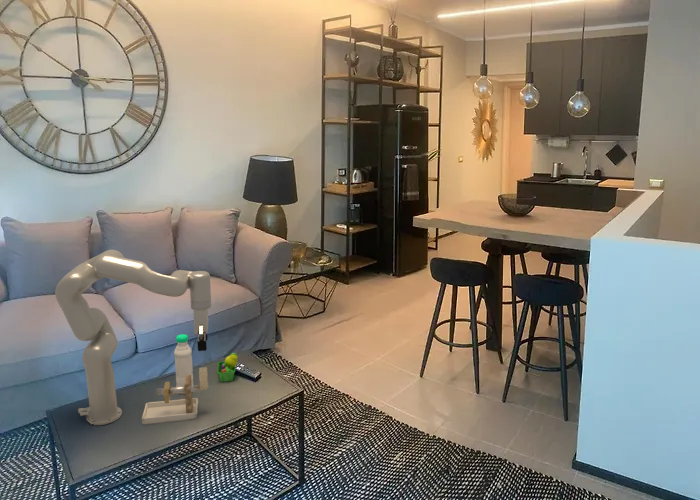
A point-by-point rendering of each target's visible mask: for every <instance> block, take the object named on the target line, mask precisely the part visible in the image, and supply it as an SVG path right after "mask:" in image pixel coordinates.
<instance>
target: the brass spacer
mask: <svg viewBox="0 0 700 500" xmlns="http://www.w3.org/2000/svg"><path fill="white" fill-rule="evenodd" d="M170 387H171V384H170V381H165V383H164V385H163V388H164V394H163V401H164V402H165V403H169V401H171V394H169V388H170Z"/></svg>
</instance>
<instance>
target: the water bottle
mask: <svg viewBox="0 0 700 500" xmlns="http://www.w3.org/2000/svg"><path fill="white" fill-rule="evenodd" d="M175 341H176V343H177V345H176V346H175V349H174V352H173V353H174V367H175V382H176V386H175V387H182V386H184V384H185V378H186V375H191V382H192V386H193V385H194V374H193V372H194V371H193V357H192V353H193V351H192V348H191V346H190V345H189V344H188V342H189V336H188V334H186V333H185V334H184V333H183V334H182V333H181V334H177V335H176V338H175ZM182 394H184V395H185V393H182Z"/></svg>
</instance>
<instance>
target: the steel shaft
mask: <svg viewBox="0 0 700 500" xmlns="http://www.w3.org/2000/svg"><path fill="white" fill-rule="evenodd" d="M208 374H209V373H208V367H207V366H204V367H199V368H198V376H199V384H195V385H193V386H191V392H192V393H196V392H202V390H209V377H208V376H209V375H208ZM183 393H184V394H185V387H184V386H182V387H176V386H172V387H171V386H170V388H169V394H170V395H174V394H183ZM160 395H162V396H164V387H161V388H159V387H158V388H155V396H160Z"/></svg>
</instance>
